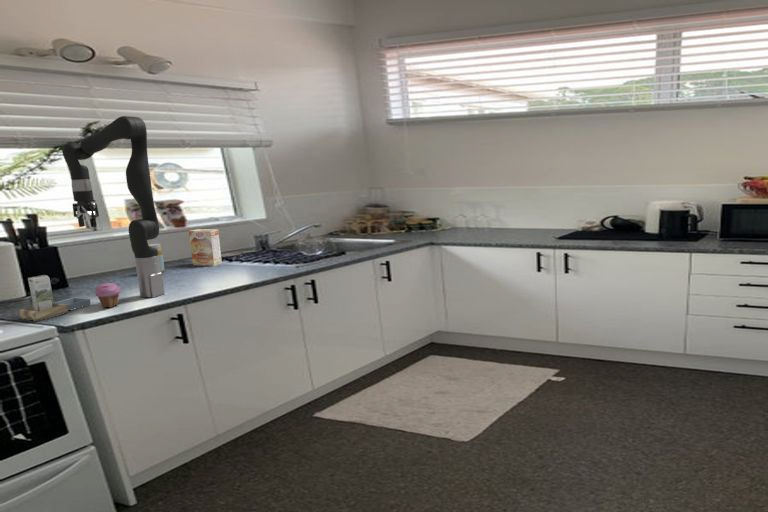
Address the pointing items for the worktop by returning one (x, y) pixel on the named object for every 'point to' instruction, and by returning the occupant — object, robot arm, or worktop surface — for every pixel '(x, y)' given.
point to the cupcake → (108, 294)
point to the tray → (42, 312)
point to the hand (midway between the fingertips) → (87, 226)
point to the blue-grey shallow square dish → (75, 302)
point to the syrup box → (41, 292)
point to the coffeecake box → (205, 247)
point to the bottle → (159, 256)
